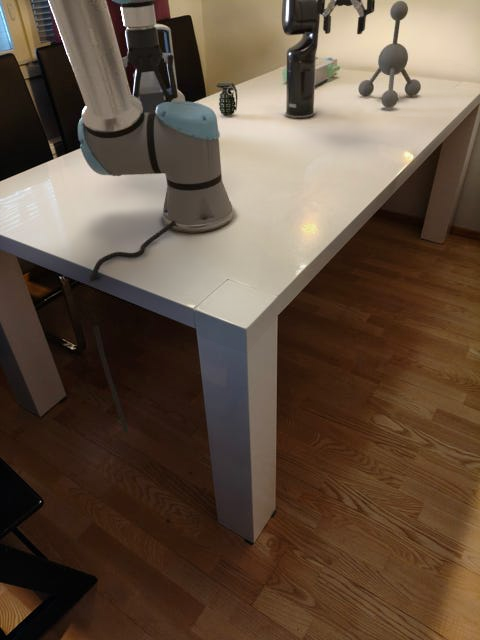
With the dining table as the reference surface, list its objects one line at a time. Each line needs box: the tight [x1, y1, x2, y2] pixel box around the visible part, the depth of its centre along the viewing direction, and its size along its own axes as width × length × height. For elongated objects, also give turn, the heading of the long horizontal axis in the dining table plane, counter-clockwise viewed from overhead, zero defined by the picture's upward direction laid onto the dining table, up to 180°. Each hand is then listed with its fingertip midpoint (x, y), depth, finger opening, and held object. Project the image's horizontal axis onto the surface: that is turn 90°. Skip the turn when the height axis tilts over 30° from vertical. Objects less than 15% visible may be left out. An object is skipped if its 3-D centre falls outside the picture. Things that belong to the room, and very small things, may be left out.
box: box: [132, 71, 165, 113], centre depth 132 cm, size 25×6×10 cm, turn 14°
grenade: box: [215, 82, 238, 117], centre depth 166 cm, size 7×6×10 cm
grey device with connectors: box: [282, 56, 341, 85], centre depth 205 cm, size 26×6×20 cm
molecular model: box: [358, 0, 422, 109], centre depth 166 cm, size 24×22×30 cm
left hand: (155, 129), depth 128 cm, fingers closed on box, 6 cm apart
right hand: (343, 33), depth 125 cm, fingers open, 8 cm apart
